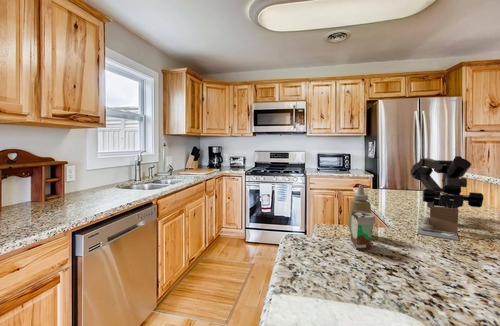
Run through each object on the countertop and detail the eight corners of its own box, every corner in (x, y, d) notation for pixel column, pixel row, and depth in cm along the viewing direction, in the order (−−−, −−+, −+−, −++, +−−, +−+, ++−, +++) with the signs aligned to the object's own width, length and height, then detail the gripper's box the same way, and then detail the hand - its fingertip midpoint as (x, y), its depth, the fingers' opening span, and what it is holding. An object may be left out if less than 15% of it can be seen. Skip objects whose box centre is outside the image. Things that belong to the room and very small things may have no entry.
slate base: (419, 226, 108) (419, 225, 108) (455, 232, 101) (456, 230, 101) (417, 234, 97) (417, 232, 97) (458, 240, 90) (458, 239, 90)
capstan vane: (420, 227, 104) (421, 204, 104) (456, 232, 98) (457, 208, 98) (420, 229, 101) (421, 206, 101) (457, 234, 95) (459, 210, 94)
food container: (379, 253, 75) (381, 219, 75) (357, 251, 76) (358, 217, 76) (369, 240, 87) (370, 211, 87) (349, 239, 88) (350, 209, 88)
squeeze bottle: (371, 233, 96) (373, 184, 95) (371, 239, 88) (373, 186, 88) (348, 230, 99) (349, 183, 99) (346, 236, 92) (348, 185, 91)
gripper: (424, 169, 108) (422, 198, 99) (483, 171, 98) (487, 204, 89) (423, 187, 115) (422, 215, 106) (479, 191, 104) (483, 223, 95)
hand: (451, 214), depth 99 cm, fingers closed
